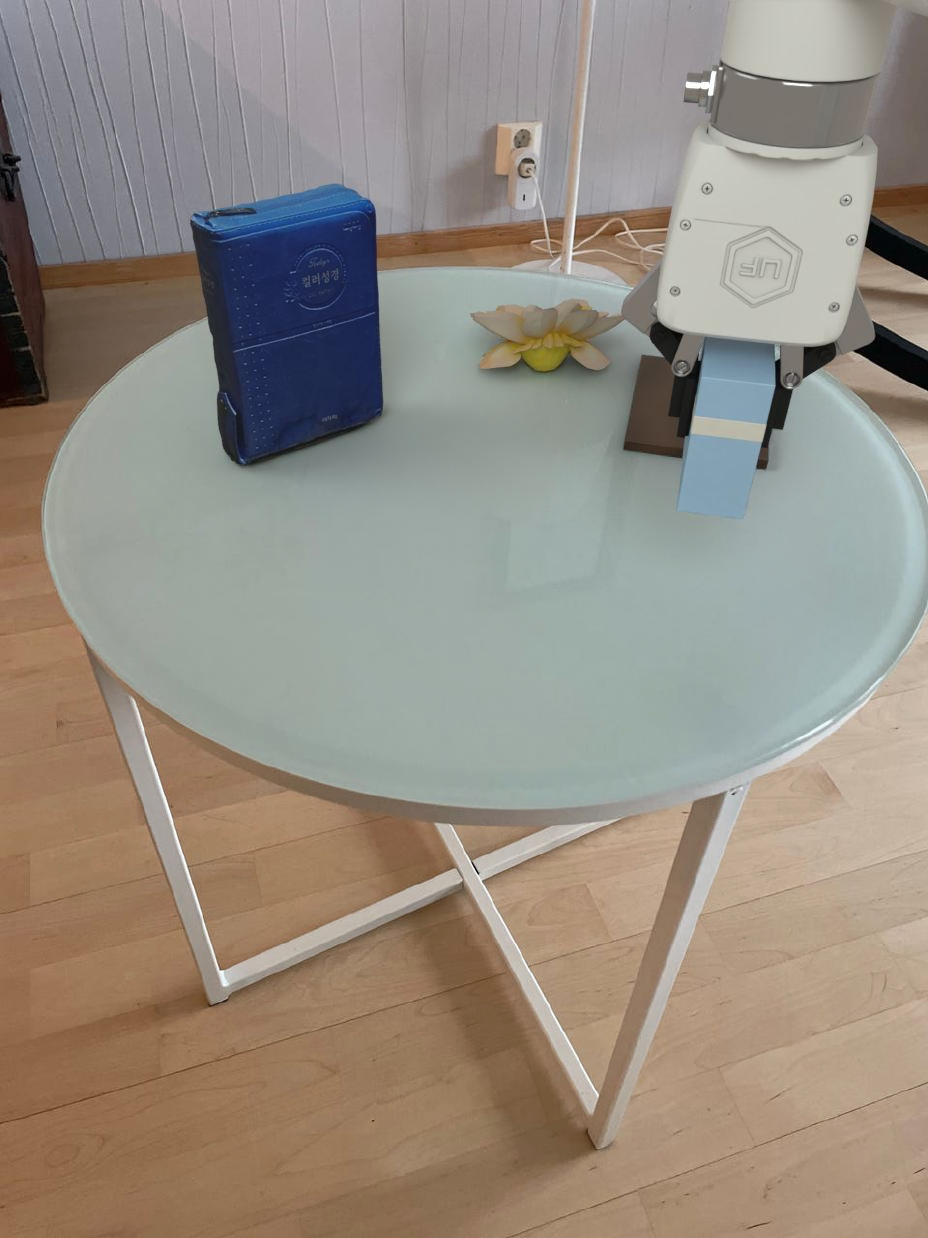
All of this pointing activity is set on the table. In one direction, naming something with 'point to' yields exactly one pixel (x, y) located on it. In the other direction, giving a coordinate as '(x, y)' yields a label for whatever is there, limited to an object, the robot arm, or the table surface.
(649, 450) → the brown wooden board
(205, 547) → the table surface
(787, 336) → the robot arm
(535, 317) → the decorative flower
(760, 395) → the box
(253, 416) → the book
